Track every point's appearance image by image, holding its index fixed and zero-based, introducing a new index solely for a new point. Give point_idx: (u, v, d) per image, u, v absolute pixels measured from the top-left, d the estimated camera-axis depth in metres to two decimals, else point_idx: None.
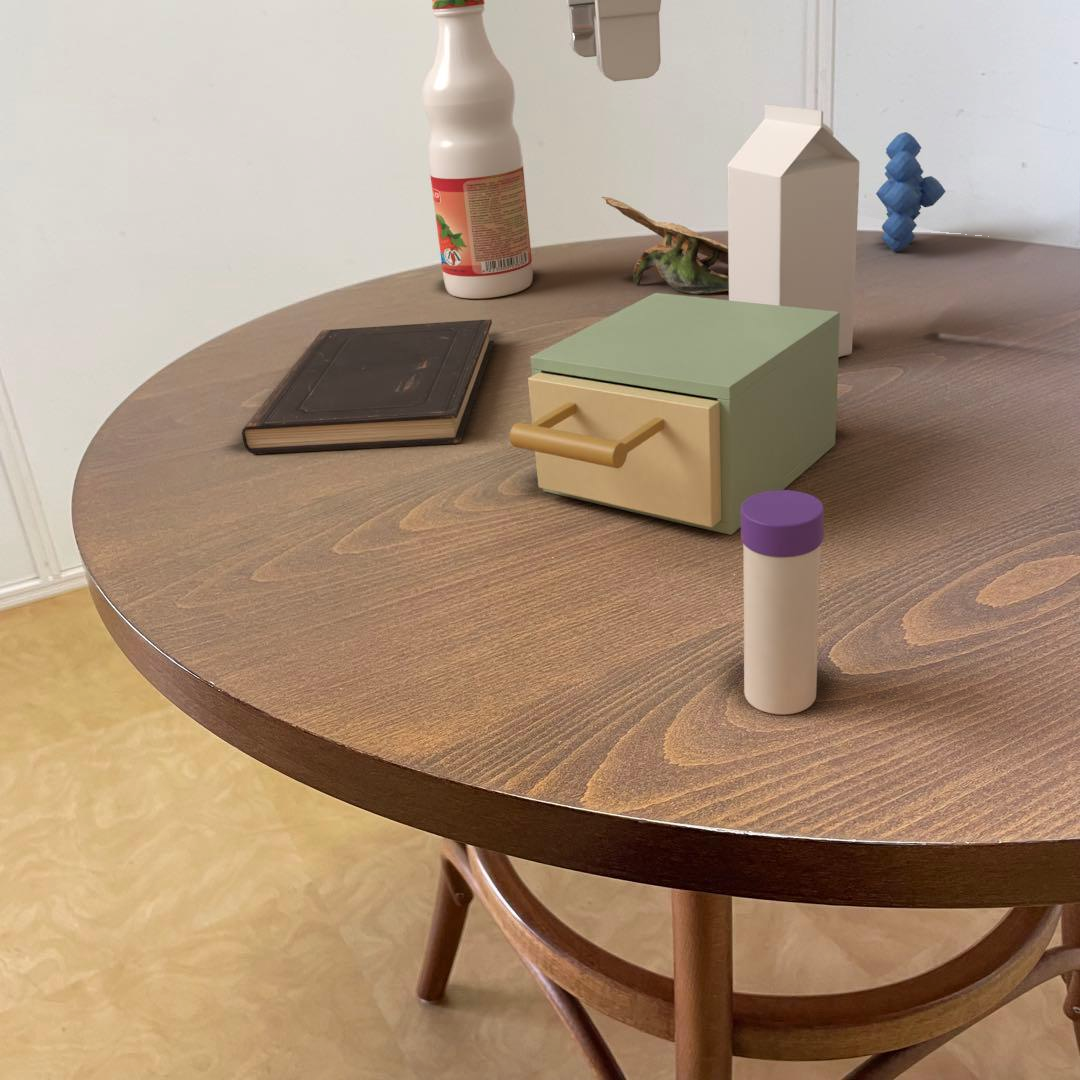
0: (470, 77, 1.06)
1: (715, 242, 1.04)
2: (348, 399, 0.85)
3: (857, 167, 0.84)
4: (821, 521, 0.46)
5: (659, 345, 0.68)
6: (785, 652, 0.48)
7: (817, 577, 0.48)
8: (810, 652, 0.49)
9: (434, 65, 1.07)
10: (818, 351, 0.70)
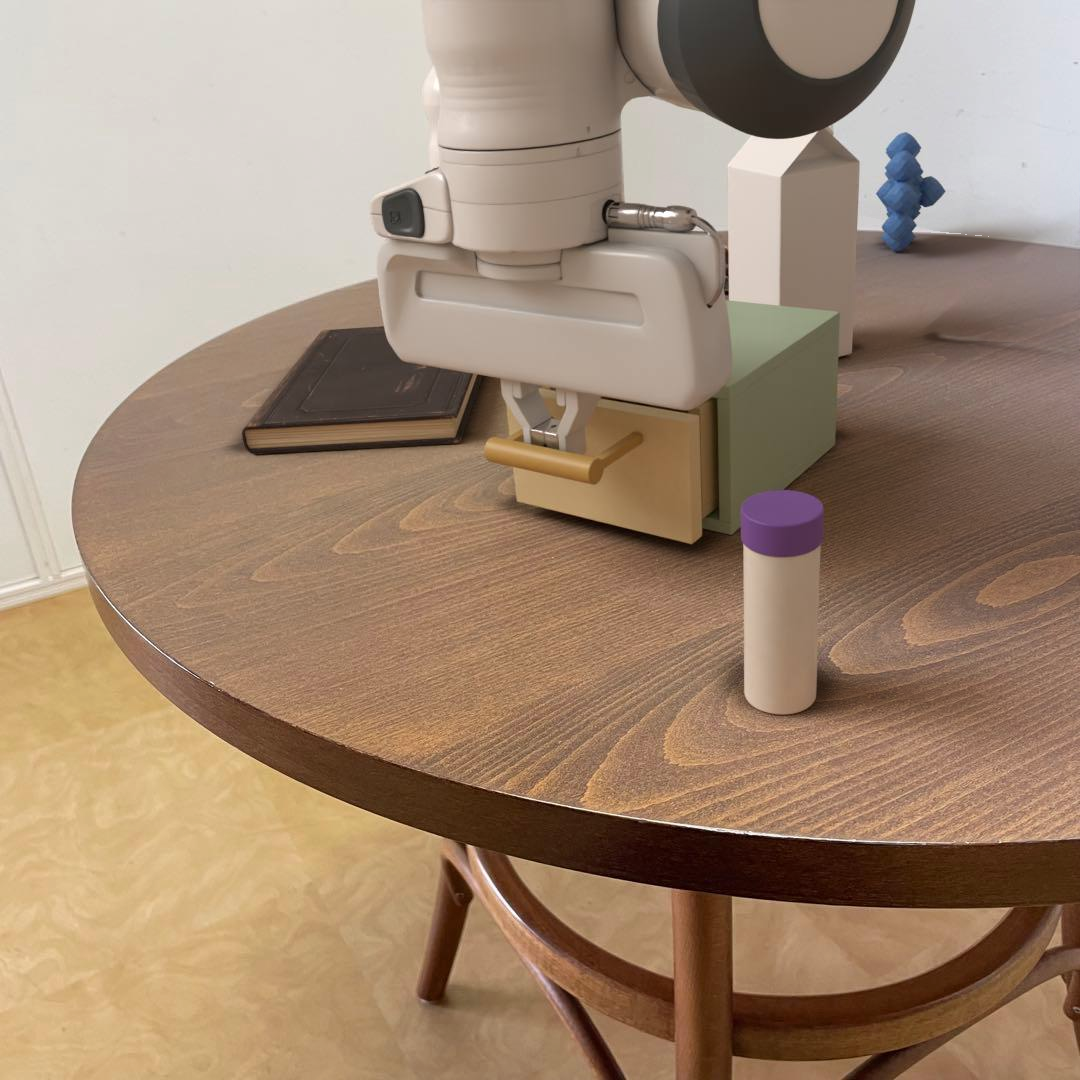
0: None
1: None
2: (348, 399, 0.85)
3: (857, 167, 0.84)
4: (821, 521, 0.46)
5: None
6: (785, 652, 0.48)
7: (817, 577, 0.48)
8: (810, 652, 0.49)
9: None
10: (818, 351, 0.70)
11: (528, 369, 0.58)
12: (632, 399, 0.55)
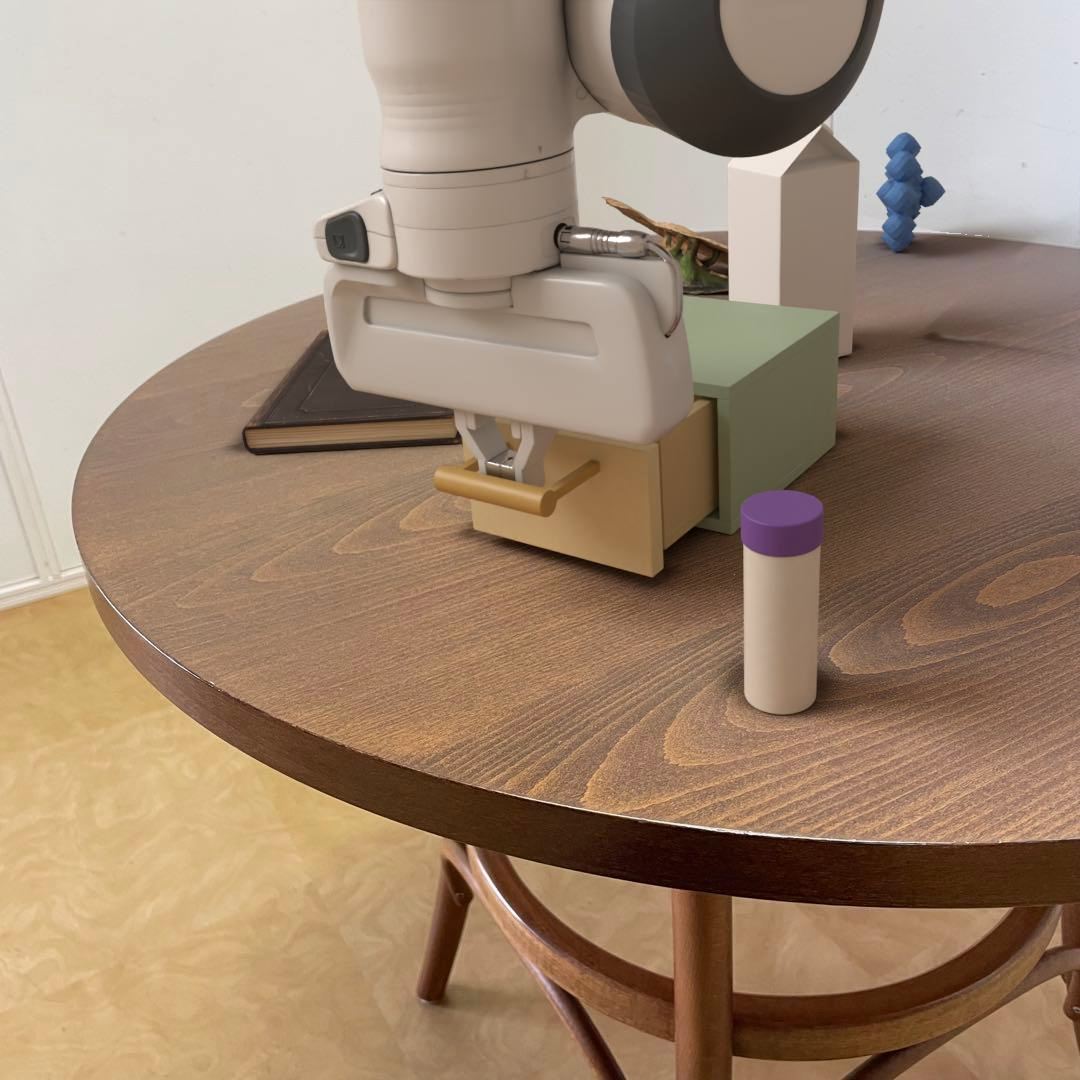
0: None
1: (715, 242, 1.04)
2: (348, 399, 0.85)
3: (857, 167, 0.84)
4: (821, 521, 0.46)
5: None
6: (785, 652, 0.48)
7: (817, 577, 0.48)
8: (810, 652, 0.49)
9: None
10: (818, 351, 0.70)
11: (481, 400, 0.55)
12: (588, 433, 0.52)
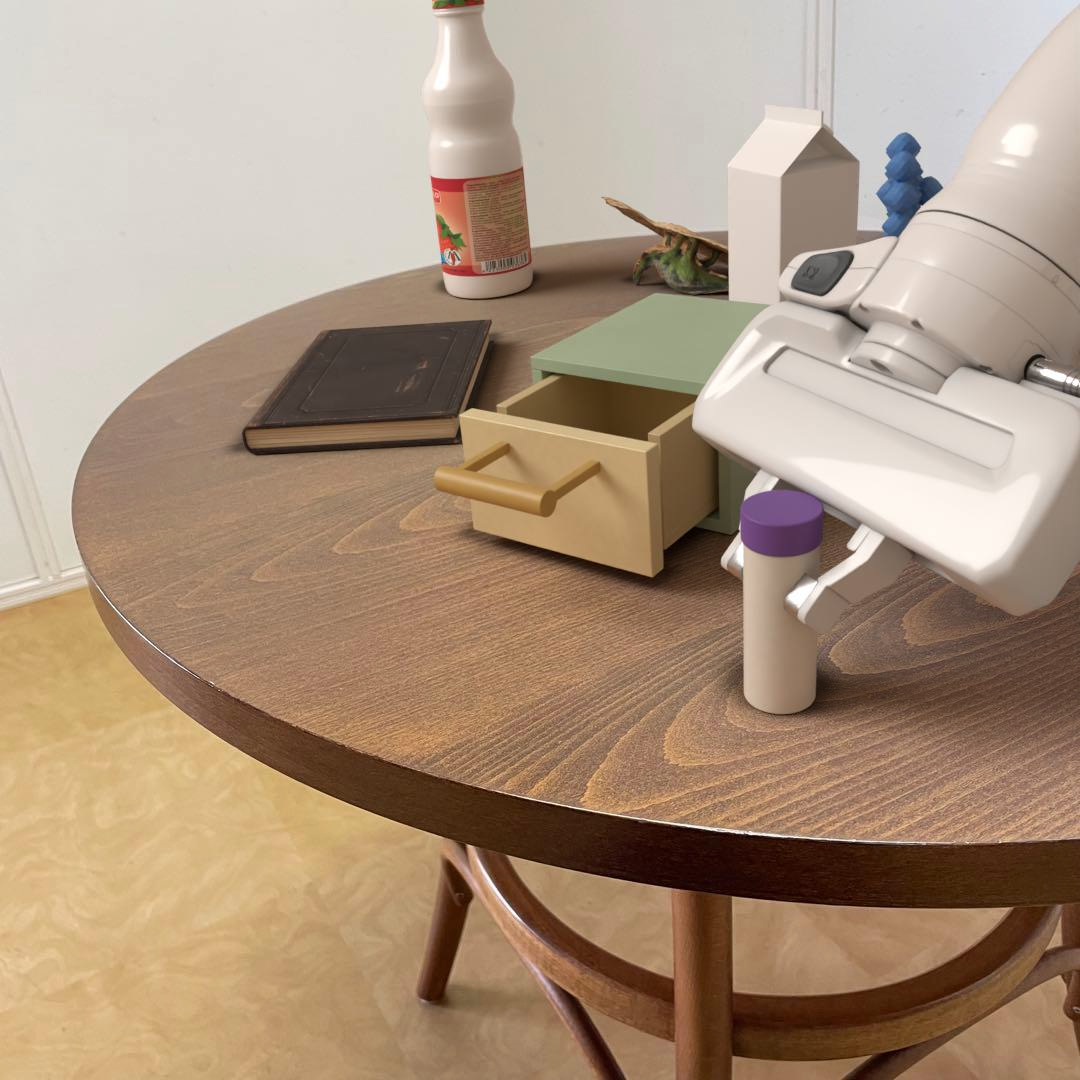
0: (470, 77, 1.06)
1: (714, 242, 1.04)
2: (348, 399, 0.85)
3: (857, 167, 0.84)
4: (821, 521, 0.46)
5: (659, 345, 0.68)
6: (784, 652, 0.48)
7: (817, 577, 0.48)
8: (810, 651, 0.49)
9: (434, 65, 1.07)
10: None
11: (822, 473, 0.47)
12: (920, 545, 0.42)
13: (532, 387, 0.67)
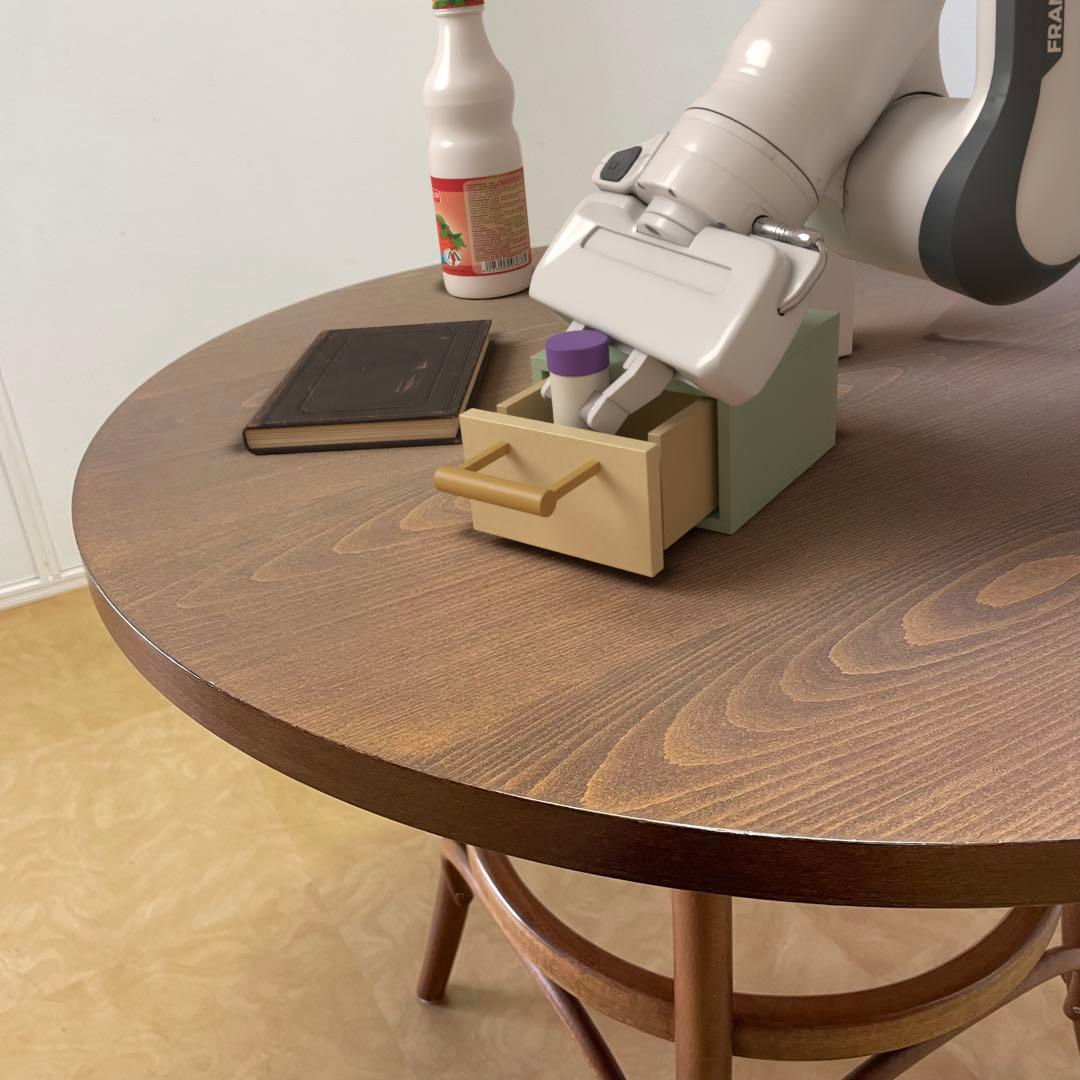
0: (470, 77, 1.06)
1: None
2: (348, 399, 0.85)
3: None
4: (604, 349, 0.60)
5: None
6: None
7: None
8: None
9: (434, 65, 1.07)
10: (818, 351, 0.70)
11: (609, 314, 0.61)
12: (665, 355, 0.56)
13: (532, 387, 0.67)
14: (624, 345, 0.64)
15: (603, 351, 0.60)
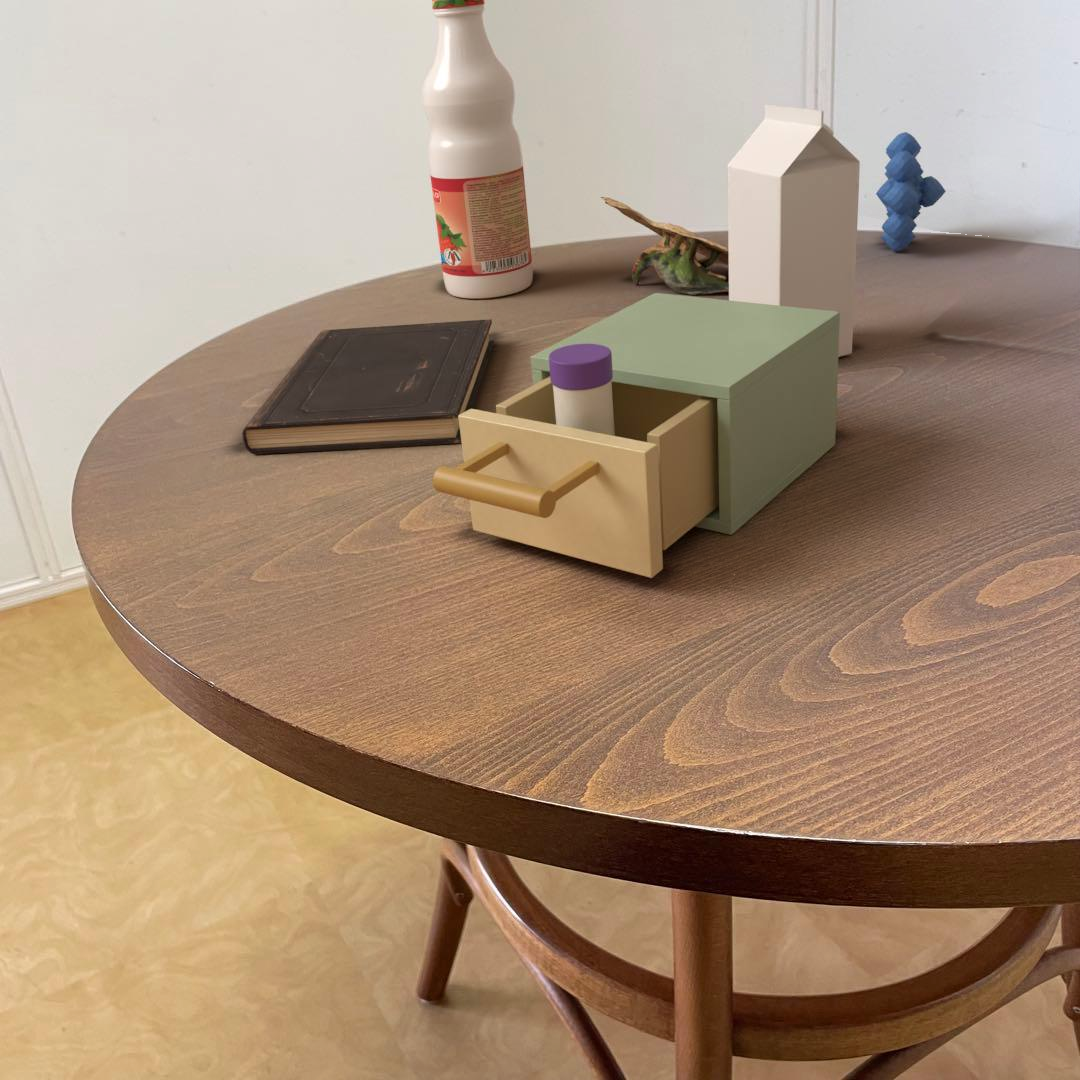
0: (470, 77, 1.06)
1: (712, 243, 1.04)
2: (348, 399, 0.85)
3: (857, 167, 0.84)
4: (607, 362, 0.60)
5: (659, 345, 0.68)
6: None
7: (609, 409, 0.61)
8: None
9: (434, 65, 1.07)
10: (818, 351, 0.70)
11: None
12: None
13: (531, 387, 0.67)
14: None
15: (606, 365, 0.60)
